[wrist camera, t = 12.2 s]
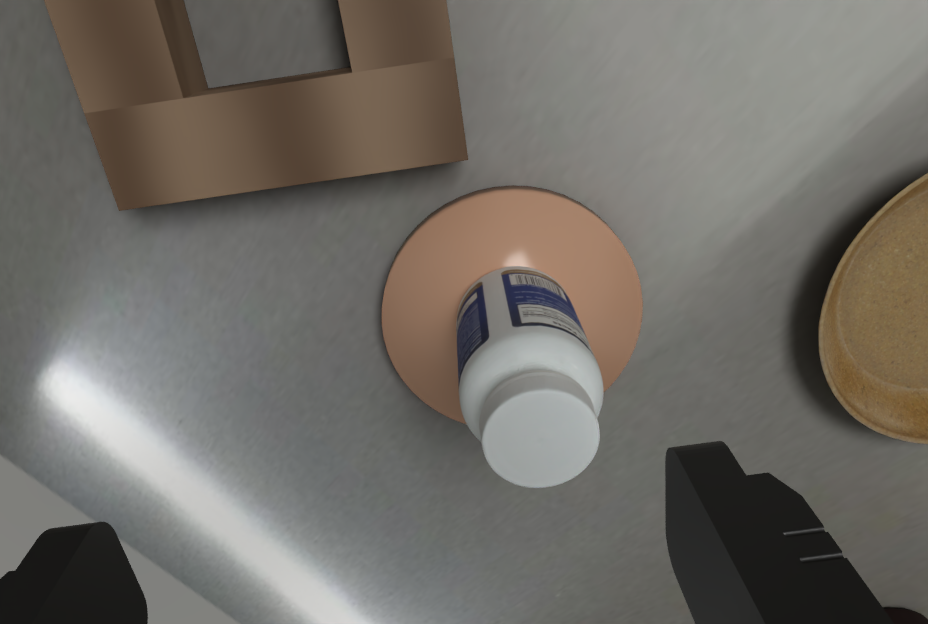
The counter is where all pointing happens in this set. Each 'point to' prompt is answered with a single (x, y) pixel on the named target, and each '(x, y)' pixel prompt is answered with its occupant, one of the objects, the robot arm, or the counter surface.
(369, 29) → the block
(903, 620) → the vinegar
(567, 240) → the salmon pink disc
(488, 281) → the pill bottle
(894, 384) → the plant saucer
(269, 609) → the counter surface
